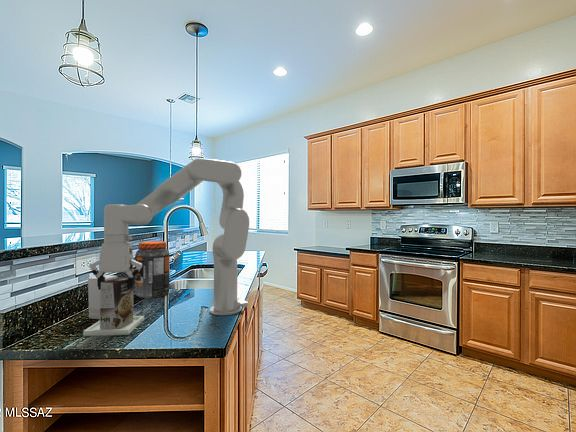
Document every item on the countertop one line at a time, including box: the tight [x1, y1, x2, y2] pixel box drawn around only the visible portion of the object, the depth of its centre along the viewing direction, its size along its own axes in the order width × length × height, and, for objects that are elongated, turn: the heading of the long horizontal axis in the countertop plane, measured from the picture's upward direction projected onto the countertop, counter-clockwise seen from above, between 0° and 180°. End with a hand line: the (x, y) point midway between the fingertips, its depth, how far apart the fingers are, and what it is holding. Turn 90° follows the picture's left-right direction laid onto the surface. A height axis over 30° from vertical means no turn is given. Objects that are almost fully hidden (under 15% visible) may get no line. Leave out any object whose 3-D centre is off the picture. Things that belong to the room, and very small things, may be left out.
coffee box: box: [99, 277, 135, 330], centre depth 108 cm, size 9×6×16 cm
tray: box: [82, 315, 145, 337], centre depth 108 cm, size 14×14×2 cm
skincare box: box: [87, 274, 118, 320], centre depth 119 cm, size 8×7×16 cm
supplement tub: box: [134, 240, 171, 299], centre depth 152 cm, size 16×16×26 cm
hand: (116, 288), depth 108 cm, fingers open, 9 cm apart
